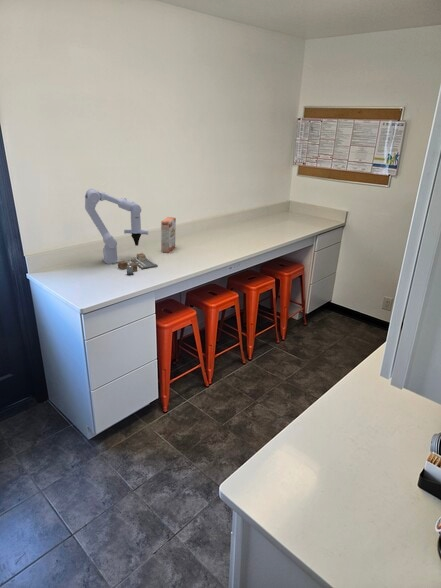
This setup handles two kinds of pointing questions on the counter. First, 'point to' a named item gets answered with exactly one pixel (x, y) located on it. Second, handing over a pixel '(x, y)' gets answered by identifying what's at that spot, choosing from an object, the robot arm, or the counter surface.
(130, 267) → the metal peg
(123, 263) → the walnut block
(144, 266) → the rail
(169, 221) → the cracker box
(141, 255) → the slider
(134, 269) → the walnut block
